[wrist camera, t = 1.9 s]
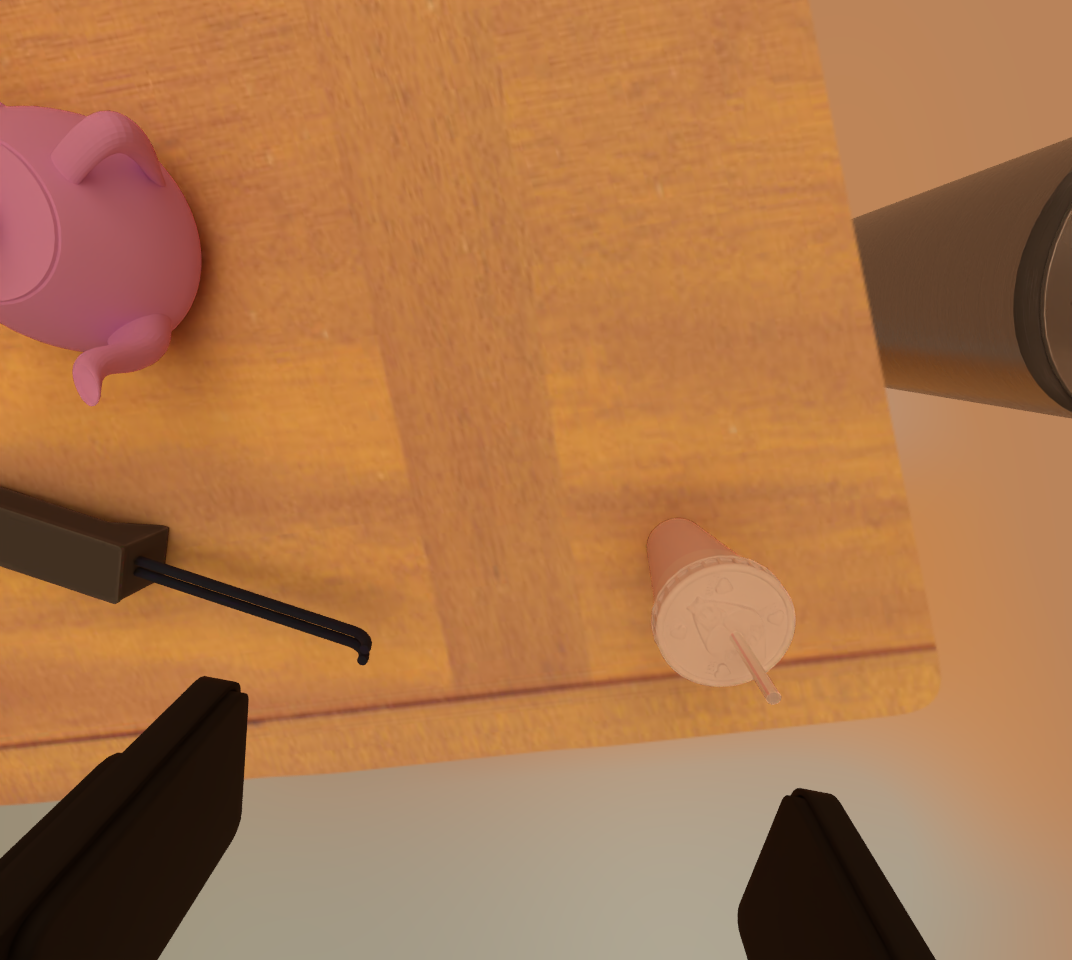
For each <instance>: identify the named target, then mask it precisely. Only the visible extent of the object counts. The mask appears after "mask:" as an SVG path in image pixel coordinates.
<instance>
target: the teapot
mask: <svg viewBox="0 0 1072 960" xmlns="http://www.w3.org/2000/svg"><path fill="white" fill-rule="evenodd" d="M200 275H201V246H200V239H199V235H198V230H197V226H196V223H195V220H194V217H193V215H192V212H191V209H190V207H189V205H188V203H187V201H186V199H185V197H184V195H183V193H182V192H181V190H180V189H179V187H178V185H177V184H176V182H175V181H174V179H173V178H172V177H171V176H170V174H169V173H168V172H167V170H166V169H165V168H164V167H163V166H162V164H161V163H160V162H159V161H158V159H157V156H156V153H155V151H154V149H153V146H152V144H151V142H150V141H149V139H148V137H147V136H146V134H145V133H144V132H143V130H142V129H141V128H140V127H139V126H138V125H137V124H136V123H134V122H133V121H132V120H131V119H129V118H128V117H126V116H124V115H122V114H120V113H118V112H114V111H99V112H96V113H93V114H91V115H89V116H84V115H81V114H77V113H73V112H69V111H64V110H59V109H53V108H46V107H37V106H8V107H7V106H5V105H4V104H2V103H1V102H0V323H1V324H3V325H5V326H7V327H8V328H10V329H12V330H14V331H16V332H19V333H21V334H23V335H25V336H28V337H30V338H33V339H35V340H38V341H40V342H44V343H47V344H50V345H53V346H57V347H61V348H65V349H70V350H76V351H81V352H83V353H82V354H80V355H79V356H78V358H77V359H76V361H75V363H74V365H73V379H74V383H75V386H76V389H77V391H78V393H79V395H80V396H81V398H82V399H83V401H84V402H85V403H86V404H88V405H89V406H95V405H96V404H97V403H98V402H99V400H100V396H101V387H102V381H103V379H104V378H105V377H106V376H107V375H110V374H116V373H128V372H134V371H137V370H141V369H143V368H145V367H147V366H150V365H152V364H153V363H155V362H156V361H158V360H159V359H160V358H161V357H162V356H163V355H164V354H165V352H166V351H167V349H168V346H169V344H170V340H171V331H172V330H174V329H175V328H176V327H177V326H178V325H179V323H180V322H181V321H182V320H183V319H184V317H185V316H186V314H187V313H188V311H189V309H190V308H191V306H192V304H193V301H194V299H195V297H196V294H197V290H198V286H199V283H200Z"/></svg>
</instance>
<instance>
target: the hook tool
mask: <svg viewBox="0 0 1072 960" xmlns="http://www.w3.org/2000/svg"><path fill="white" fill-rule="evenodd" d="M168 529H169V528H168V527H166V526H161V525H147V524H132V523H116V522H107V521H104V520H101V519H98V518H95V517H91V516H88V515H85V514H82V513H79V512H76V511H73V510H70V509H67V508H64V507H61V506H58V505H55V504H52V503H49V502H45V501H42V500H39V499H36V498H33V497H30V496H27V495H24V494H21V493H18V492H15V491H12V490H9V489H6V488H3V487H0V566H2V567H5V568H8V569H11V570H14V571H17V572H20V573H23V574H26V575H29V576H32V577H35V578H38V579H41V580H44V581H47V582H50V583H53V584H56V585H59V586H62V587H65V588H68V589H71V590H74V591H77V592H80V593H83V594H86V595H89V596H92V597H95V598H98V599H101V600H104V601H107V602H110V603H113V604H116V603H118V602H120V600H122V599H124V598H125V597H127V596H129V595H131V594H133V593H135V592H137V591H139V590H141V589H143V588H145V587H146V586H148V585H150V584H152V583H154V582H155V583H158V584H161V585H164V586H167V587H170V588H173V589H176V590H179V591H182V592H185V593H188V594H191V595H194V596H197V597H200V598H203V599H206V600H209V601H212V602H215V603H218V604H221V605H224V606H227V607H230V608H233V609H236V610H239V611H242V612H245V613H248V614H251V615H254V616H258V617H261V618H264V619H267V620H270V621H273V622H276V623H279V624H282V625H285V626H288V627H291V628H294V629H297V630H300V631H303V632H306V633H309V634H312V635H315V636H318V637H321V638H324V639H327V640H330V641H333V642H336V643H339V644H342V645H345V646H348V647H351V648H353V649H354V650H356V651H357V652H358V654H359V656H358V659H357V662H358V663H359V664H360V665H365V664H366V663H367V662H368V660H369V651H370V650H371V646H372V641H371V638H370V636H369V635H368V634H367V633H366V632H365V631H364V630H362V629H361V628H358V627H356V626H353V625H350V624H347V623H344V622H341V621H338V620H335V619H332V618H329V617H326V616H323V615H320V614H317V613H313V612H310V611H307V610H304V609H301V608H298V607H295V606H292V605H289V604H286V603H283V602H280V601H277V600H274V599H271V598H268V597H265V596H262V595H259V594H256V593H253V592H250V591H246V590H243V589H240V588H237V587H234V586H231V585H228V584H225V583H222V582H219V581H216V580H213V579H210V578H207V577H204V576H201V575H198V574H195V573H192V572H189V571H186V570H182V569H179V568H176V567H173V566H170V565H167V564H165V557H166V548H167V538H168ZM164 574H165V575H164ZM166 575H168V576H166ZM169 576H171V577H169ZM172 577H174V578H172ZM175 578H177V579H175ZM178 579H180V580H178ZM181 580H183V581H181ZM184 581H186V582H184ZM187 582H189V583H187ZM191 583H192V584H191ZM194 584H195V585H194ZM197 585H198V586H197ZM200 586H201V587H200ZM203 587H204V588H203ZM206 588H207V589H206ZM209 589H210V590H209ZM212 590H213V591H212ZM215 591H216V592H215ZM218 592H219V593H218ZM221 593H222V594H221ZM224 594H226V595H224ZM227 595H229V596H227ZM230 596H232V597H230ZM233 597H235V598H233ZM236 598H238V599H236ZM239 599H241V600H239ZM242 600H244V601H242ZM245 601H247V602H245ZM248 602H250V603H248ZM251 603H253V604H251ZM254 604H256V605H254ZM257 605H259V606H257ZM260 606H262V607H260ZM263 607H265V608H263ZM266 608H268V609H266ZM269 609H271V610H269ZM273 610H274V611H273ZM276 611H277V612H276ZM279 612H280V613H279ZM282 613H283V614H282ZM285 614H286V615H285ZM288 615H289V616H288ZM291 616H292V617H291ZM294 617H295V618H294ZM297 618H298V619H297ZM300 619H301V620H300ZM303 620H305V621H303ZM306 621H308V622H306ZM309 622H311V623H309ZM312 623H314V624H312ZM315 624H317V625H315ZM318 625H320V626H318ZM321 626H323V627H321ZM324 627H326V628H324ZM327 628H329V629H327ZM330 629H332V630H330ZM333 630H335V631H333ZM336 631H338V632H336ZM339 632H341V633H339ZM342 633H344V634H342ZM345 634H347V635H345ZM348 635H350V636H348ZM351 636H353V637H351ZM354 637H355V638H354Z"/></svg>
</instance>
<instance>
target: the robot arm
mask: <svg viewBox="0 0 1072 960" xmlns="http://www.w3.org/2000/svg"><path fill="white" fill-rule="evenodd" d="M247 717H248V695H247V694H245V693H241V690H240V685H239V683H237V682H233V681H228V680H222V679H217V678H212V677H207V676H203V677H200V678H199V679H198V680H196V681H195V682H194V683H193V684H192V685H191V686H190V687H189V688H188V689H187V690H186V691H185V692H184V693H183V694H182V695H181V696H180V697H179V698H178V699H177V700H176V701H175V702H174V703H173V704H172V705H171V706H170V707H168V708H167V709H166V710H165V711H164V712H163V713H162V714H161V715H160V716H159V717H158V718H157V719H156V720H155V721H154V722H153V723H152V724H151V725H150V726H149V727H148V728H147V729H146V730H145V731H144V732H143V733H142V734H141V735H140V736H139V737H138V738H137V739H136V740H135V741H134V742H133V743H132V744H131V745H130V746H129V747H128V748H127V749H126V750H125V751H124V752H123V753H116V754H114V755H111V756H109V757H108V758H106V759H105V760H104V761H103V762H101V763H100V764H99V765H98V766H97V767H96V768H95V769H93V770H92V771H91V772H90V773H89V774H88V775H87V776H86V777H85V778H84V779H83V780H82V781H81V782H80V783H79V784H78V785H77V786H76V787H75V788H74V789H73V790H72V791H71V792H69V793H68V794H67V795H66V796H65V797H64V798H63V799H62V800H61V801H60V802H59V803H58V804H57V805H56V806H55V807H54V808H53V809H52V810H51V811H50V812H49V813H48V814H46V816H44V817H43V819H42V820H40V821H39V822H38V823H37V824H36V825H35V826H34V827H33V828H32V829H31V830H30V831H29V832H28V833H27V834H26V835H25V836H23V837H22V838H21V839H20V840H19V841H18V842H17V843H16V844H15V845H14V846H13V847H12V848H11V849H10V850H9V851H8V852H7V853H6V854H5V855H4V856H3V857H2V858H0V960H157V959H158V958H159V956H160V955H161V953H162V951H163V950H164V948H165V947H166V945H167V944H168V942H169V940H170V939H171V937H172V936H173V934H174V932H175V931H176V929H177V928H178V926H179V924H180V923H181V921H182V920H183V918H184V917H185V915H186V913H187V912H188V910H189V909H190V907H191V905H192V904H193V902H194V901H195V899H196V897H197V896H198V894H199V893H200V891H201V889H202V888H203V886H204V884H205V883H206V881H207V880H208V878H209V877H210V875H211V874H212V872H213V870H214V869H215V867H216V866H217V864H218V862H219V861H220V859H221V858H222V856H223V854H224V853H225V851H226V850H227V848H228V846H229V845H230V843H231V842H232V840H233V838H234V836H235V834H236V832H237V829H238V826H239V823H240V820H241V814H242V797H243V782H244V766H245V750H246V733H247ZM738 928H739V932H740V936H741V939H742V942H743V945H744V949H745V952H746V955H747V959H748V960H936V959H935V957H934V956H933V954H932V953H931V951H930V950H929V948H928V946H927V944H926V943H925V941H924V940H923V938H922V936H921V935H920V933H919V931H918V930H917V928H916V926H915V925H914V923H913V921H912V920H911V918H910V916H909V915H908V913H907V912H906V910H905V908H904V907H903V905H902V903H901V902H900V900H899V899H898V897H897V895H896V894H895V892H894V890H893V889H892V887H891V885H890V884H889V882H888V880H887V879H886V877H885V875H884V874H883V872H882V871H881V869H880V867H879V866H878V864H877V862H876V861H875V859H874V857H873V856H872V854H871V852H870V851H869V849H868V848H867V846H866V844H865V843H864V841H863V839H862V838H861V836H860V834H859V833H858V831H857V830H856V828H855V826H854V825H853V823H852V821H851V820H850V818H849V816H848V815H847V813H846V811H845V810H844V808H843V807H842V805H841V803H840V802H839V801H838V799H837V798H836V797H835V796H833V795H832V794H828V793H822V792H817V791H812V790H807V789H802V788H797V789H795V790H794V791H793V793H792V794H791V796H788V795H786V796H785V797H784V798H783V800H782V802H781V804H780V806H779V809H778V811H777V814H776V816H775V819H774V821H773V823H772V826H771V828H770V831H769V833H768V836H767V838H766V841H765V843H764V845H763V848H762V850H761V853H760V855H759V858H758V860H757V863H756V865H755V867H754V870H753V873H752V875H751V877H750V880H749V882H748V885H747V887H746V890H745V892H744V894H743V897H742V899H741V902H740V904H739V908H738Z"/></svg>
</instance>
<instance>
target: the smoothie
mask: <svg viewBox="0 0 1072 960" xmlns="http://www.w3.org/2000/svg"><path fill="white" fill-rule="evenodd" d="M647 554H648V561H649V568H650V575H651V582H652V589H653V595H654V605H653V608H652V617H651V627H652V632H653V636H654V640H655V642H656V644H657V646H658V647H659V649H660V652H661V654H662V656H663V658H664V659H665V661H666V662H667V663H668V665H669V666H670V667H671V668H672V669H673V670H674V671H675V672H677V673H678V674H679V675H681V676H682V677H684V678H686V679H688V680H690V681H692V682H695V683H698V684H701V685H706V686H712V687H728V686H735V685H740V684H743V683H746V682H749V681H752V680H755V682H756V684H757V685H758V687H759V689H760V690H761V692H762V694H763V695H764V697H765V699H766V700H767V702H768V703H769V704H772V705H774V704H777V703H779V702H780V701H781V695H780V693H779V692H778V690H777V689H776V687H775V685H774V684H773V682H772V681H771V679H770V678H769V676H768V675H767V673H766V672H768V671H769V670H770V669H771V668H773V667H774V666H775V665H776V664H777V663H778V662H779V661H780V660H781V658H782V657H783V656H784V654H785V653H786V651H787V650H788V648H789V646H790V644H791V641H792V639H793V635H794V631H795V623H796V618H795V610H794V606H793V603H792V600H791V598H790V596H789V594H788V592H787V591H786V589H785V588H784V587H783V586H782V584H781V582H780V581H779V580H778V579H777V577H776V576H775V575H774V574H773V573H772V572H771V571H770V570H769V569H768V568H766V567H764V566H763V565H761V564H759V563H757V562H756V561H754V560H751V559H748V558H744V557H740V556H739V555H737V554H736V553H735V552H733V551H732V550H731V549H729V548H728V547H726V546H725V545H724V544H722V543H721V542H720V541H718V540H717V539H716V538H714V537H713V536H712V535H710V534H709V533H707V532H706V531H705V530H703V529H702V528H701V527H699V526H698V525H697V524H695V523H694V522H692V521H690V520H687V519H682V518H675V519H670V520H667V521H664V522H662V523H661V524H659V525H658V526H657V527H656V528H655V529H654V530H653V531H652V532H651V534H650V536H649V538H648V541H647Z"/></svg>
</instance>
